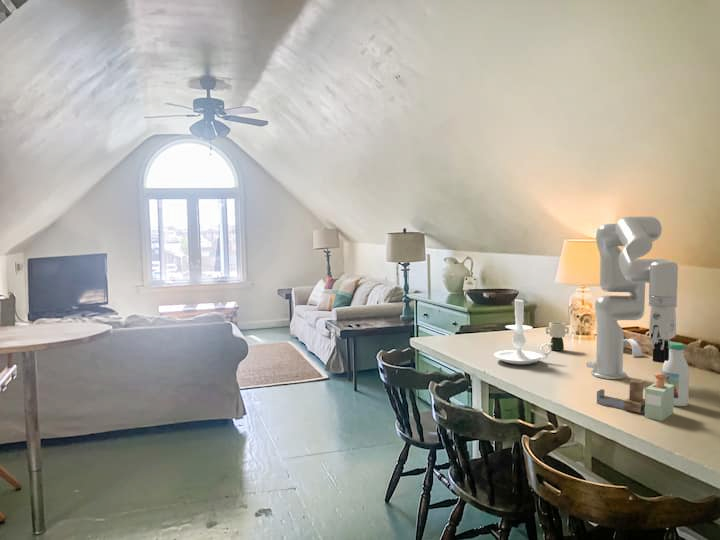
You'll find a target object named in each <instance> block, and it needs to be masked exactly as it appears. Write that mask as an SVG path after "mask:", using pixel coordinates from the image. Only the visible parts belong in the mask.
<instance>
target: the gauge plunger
mask: <svg viewBox="0 0 720 540" xmlns="http://www.w3.org/2000/svg"><path fill="white" fill-rule="evenodd" d="M654 377H655V383H656V388H662V389H664V383H665V378H666V374H664V373H662V372H654Z"/></svg>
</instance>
